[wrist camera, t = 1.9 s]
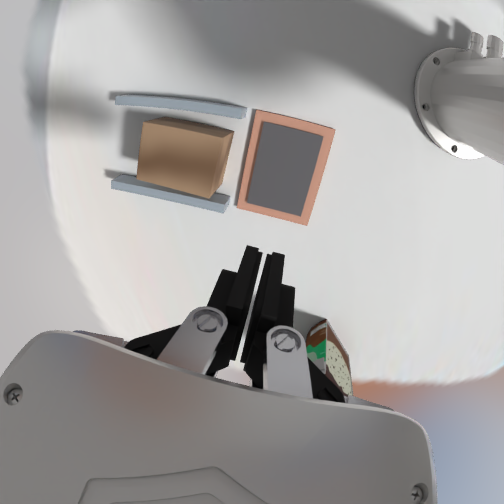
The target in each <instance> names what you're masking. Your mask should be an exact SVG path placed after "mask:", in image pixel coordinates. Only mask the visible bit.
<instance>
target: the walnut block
mask: <svg viewBox="0 0 504 504" xmlns="http://www.w3.org/2000/svg"><path fill="white" fill-rule="evenodd" d="M233 135H234V131H231V130H227V129H222V128H218V127H214V126H209V125H205V124H200V123H195V122H190V121H185V120H180V119H174V118H169V117H162V118H158V119H153V120H149V121H145V122H143V127H142V134H141V141H140V149H139V158H138V168H137V178H136V179H137V180H141V181H145V182H149V183H153V184H157V185H161V186H165V187H168V188H172V189H176V190H180V191H183V192H187V193H191V194H194V195H198V196H201V197H205V198H210V197H211V196H212V195H213V194H214V192H215V191H216V190H217V189H218V188H219V186H220V185H221V184H222V182H223V177H224V173H225V168H226V164H227V160H228V156H229V151H230V147H231V143H232V139H233Z"/></svg>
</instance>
